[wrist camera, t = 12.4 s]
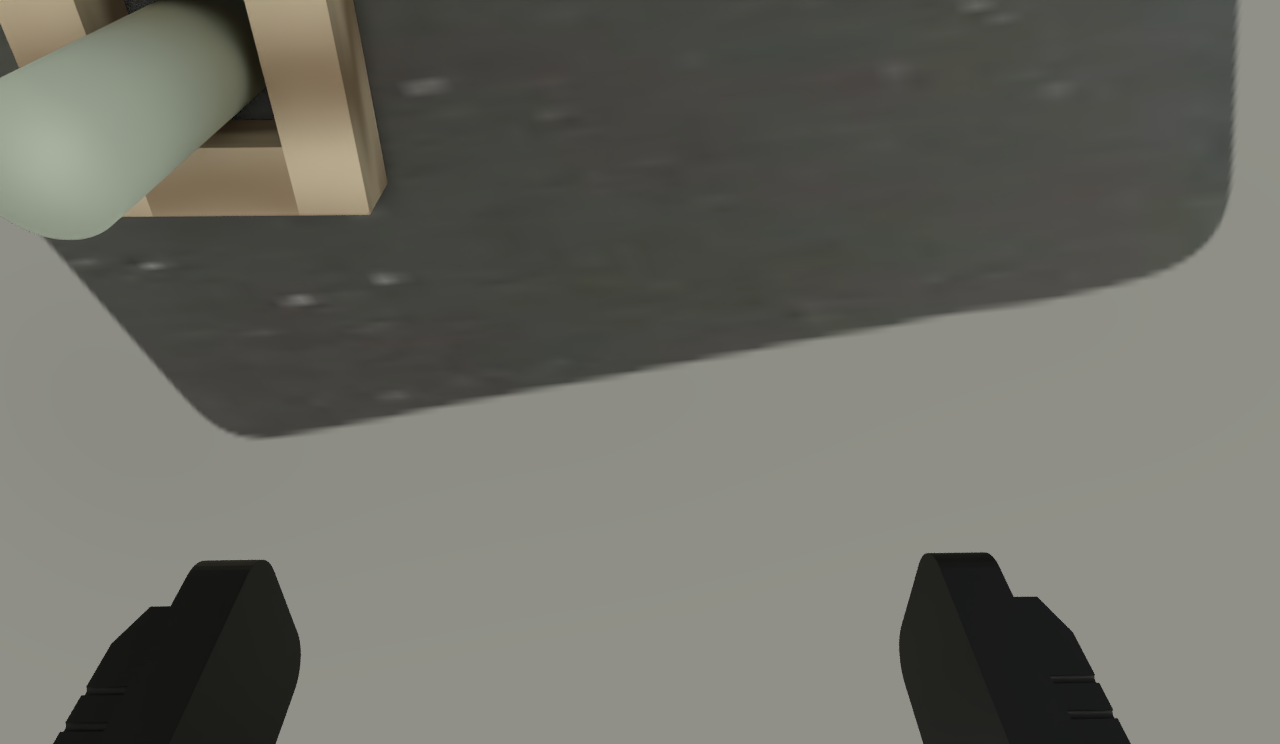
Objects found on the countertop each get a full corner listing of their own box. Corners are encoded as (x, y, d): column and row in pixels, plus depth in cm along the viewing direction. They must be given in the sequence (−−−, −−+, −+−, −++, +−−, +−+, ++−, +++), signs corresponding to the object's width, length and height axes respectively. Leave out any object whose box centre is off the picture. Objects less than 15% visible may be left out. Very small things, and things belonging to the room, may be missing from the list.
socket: (1, -123, 28) (-57, -112, 26) (330, -124, 28) (302, -114, 26) (120, 185, 35) (82, 217, 32) (387, 183, 35) (369, 214, 32)
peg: (140, -15, 30) (-85, 85, 21) (257, -16, 30) (90, 82, 21) (178, 102, 33) (-7, 241, 23) (287, 100, 33) (149, 238, 23)
